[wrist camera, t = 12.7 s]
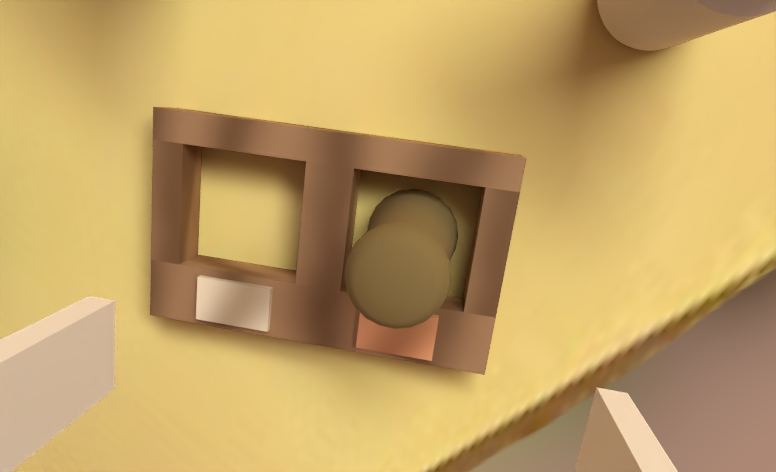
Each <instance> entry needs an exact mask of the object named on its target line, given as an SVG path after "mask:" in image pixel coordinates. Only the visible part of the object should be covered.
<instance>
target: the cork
mask: <svg viewBox="0 0 776 472" xmlns="http://www.w3.org/2000/svg"><path fill="white" fill-rule="evenodd" d="M457 239H458V230H457V222H456V220H455V218H454V215H453V213H452V211H451V209H450V208H449V207H448V206H447V205H446V204H445V203H444V202H443V201H442V200H441V199H440V198H439V197H437V196H435V195H433V194H431V193H429V192H427V191H422V190H416V189H410V190H402V191H398V192H396V193H394V194H392V195H390V196H388V197H386V198H385V199H384V200H383V201H382V202H381V203H380V204H379V205H378V206H377V207H376V209H375V210H374V212H373V214H372V216H371V218H370V222H369V228H368V232H367V233H366V234H365V235H364V236H362V237H361V238H360V239H359V240H358V241H357V242H356V243H355V244H354V246H353V248H352V250H351V252H350V254H349V256H348V258H347V261H346V268H345V274H344V275H345V282H346V288H347V293H348V295H349V297H350V299H351V301H352V303H353V305H354V307H355V308H356V309H357V310H358V311H359V312H360V313H361V314H362V315H363V316H364V317H365V318H366V319H368V320H370V321H372V322H374V323H376V324H378V325H379V326H384V327H389V328H393V329H399V328H411V327H413V326H416V325H418V324H420V323H423V322H425V321H426V320H428V319H429V318H430V317H431V316H432V315H433V314H435V313H436V312H437V311H438V310H439V309H440V307H441V306H442V304H443V302H444V301H445V299H446V297H447V296H448V291H449V286H450V282H451V274H450V266H449V259H450V258H451V256H452V254H453V252H454V251H455V249H456V244H457Z"/></svg>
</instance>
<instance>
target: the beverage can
mask: <svg viewBox="0 0 776 472" xmlns="http://www.w3.org/2000/svg"><path fill="white" fill-rule="evenodd" d="M597 4H598V10H599V14H600V17H601V20H602V22H603V24H604V26H605V27H606V29H607V30H608V31H609V33H610V34H611V35H612V36H613V37H614V38H615V39H616V40H618V41H619V42H621V43H622V44H624V45H626V46H628V47H631V48H634V49H638V50H646V51H650V50H661V49H664V48H668V47H671V46H674V45H677V44H680V43H683V42H686V41H689V40H692V39H695V38H698V37H701V36H704V35H707V34H710V33H713V32H716V31H718V30H721V29H724V28H727V27H730V26H733V25H736V24H739V23H742V22H745V21H748V20H751V19H754V18H757V17H760V16H763V15H766V14H768V13H771V12H774V11H776V0H597Z"/></svg>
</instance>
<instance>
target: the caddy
mask: <svg viewBox="0 0 776 472" xmlns="http://www.w3.org/2000/svg"><path fill="white" fill-rule="evenodd" d="M202 147H209V148H216V149H223V150H230V151H237V152H244V153H251V154H258V155H264V156H271V157H278V158H285V159H292V160H299V161H306V169H305V181H304V192H303V203H302V214H301V226H300V237H299V248H298V260H297V271H293V270H287V269H281V268H275V267H269V266H263V265H257V264H251V263H244V262H238V261H232V260H226V259H220V258H214V257H208V256H202V255H198V235H199V209H200V183H201V157H202ZM525 163H526V158H525V157H523V156H521V155H514V154H507V153H500V152H493V151H485V150H478V149H471V148H463V147H456V146H449V145H442V144H434V143H427V142H420V141H412V140H405V139H398V138H391V137H383V136H376V135H369V134H361V133H354V132H347V131H340V130H332V129H325V128H318V127H310V126H303V125H296V124H289V123H281V122H274V121H267V120H259V119H252V118H245V117H238V116H230V115H223V114H216V113H208V112H201V111H194V110H187V109H179V108H165V107H153V169H152V235H151V300H150V315H153V316H159V317H164V318H170V319H175V320H181V321H187V322H192V323H198V324H203V325H209V326H215V327H220V328H226V329H231V330H237V331H243V332H248V333H254V334H259V335H265V336H271V337H276V338H282V339H287V340H293V341H299V342H304V343H310V344H315V345H321V346H327V347H332V348H338V349H343V350H349V351H355V352H360V353H366V354H371V355H377V356H383V357H388V358H394V359H399V360H405V361H410V362H416V363H422V364H427V365H433V366H438V367H444V368H450V369H455V370H461V371H466V372H472V373H478V374H483V375H485V370H486V364H487V359H488V354H489V349H490V344H491V339H492V333H493V328H494V323H495V318H496V313H497V308H498V302H499V297H500V292H501V287H502V282H503V276H504V271H505V266H506V261H507V256H508V251H509V245H510V240H511V235H512V230H513V225H514V220H515V214H516V209H517V204H518V199H519V194H520V188H521V183H522V178H523V173H524V168H525ZM361 169H362V170H369V171H376V172H382V173H389V174H396V175H403V176H410V177H417V178H424V179H431V180H438V181H445V182H452V183H459V184H466V185H473V186H480V187H482V193H481V199H480V205H479V210H478V216H477V222H476V228H475V233H474V239H473V245H472V250H471V256H470V262H469V268H468V273H467V279H466V285H465V290H464V296H463V299H462V298H456V297H450V296H447V297H446V299H445V301H444V302H443V304H442V306H441V307H440V309H439V310H438V311H437V312H436V313H435V314H433V315H432V316H431V317H430V318H429V319H428V320H426V321H425V322H423V323H420V324H418V325H416V326H413V327H411V328H399V329H393V328H389V327H384V326H379V325H378V324H376V323H374V322H372V321H370V320H368V319H366V318H365V317H364V316H363V315H362V314H361V313H360V312H359V311H358V310H357V309H356V308H355V307H354V305H353V303H352V301H351V299H350V297H349V295H348V293H347V288H346V282H345V275H344V274H345V268H346V261H347V258H348V256H349V254H350V252H351V250H352V241H353V232H354V224H355V215H356V206H357V198H358V189H359V180H360V172H361Z"/></svg>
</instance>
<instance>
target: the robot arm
mask: <svg viewBox="0 0 776 472" xmlns="http://www.w3.org/2000/svg"><path fill="white" fill-rule="evenodd" d="M114 389H115V300H110V299H104V298H99V297H93V296H88V297H86V298H84V299H82V300H80V301H78V302H76V303H74V304H72V305H70V306H68V307H66V308H64V309H62V310H60V311H58V312H55V313H53V314H51V315H49V316H47V317H45V318H43V319H41V320H39V321H37V322H35V323H33V324H31V325H29V326H27V327H25V328H23V329H21V330H19V331H17V332H15V333H13V334H11V335H9V336H7V337H5V338H3V339H0V472H12V471H13V470H14V469H15V468H17V467H18V466H19V465H20V464H22V463H23V462H24V461H25V460H27V459H28V458H29V457H30V456H32V455H33V454H34V453H35V452H37V451H38V450H39V449H40V448H42V447H43V446H44V445H45V444H47V443H48V442H49V441H50V440H52V439H53V438H54V437H55V436H57V435H58V434H59V433H60V432H61V431H63V430H64V429H65V428H66V427H68V426H69V425H70V424H71V423H73V422H74V421H75V420H76V419H78V418H79V417H80V416H81V415H83V414H84V413H85V412H86V411H88V410H89V409H90V408H91V407H93V406H94V405H95V404H96V403H98V402H99V401H100V400H101V399H103V398H104V397H105V396H106V395H108V394H109V393H110V392H111V391H113V390H114ZM575 472H678V471H677V470H676V468H675V467H674V465H673V464H672V462H671V461H670V459H669V457H668V456H667V454H666V453H665V451H664V450H663V448H662V446H661V445H660V443H659V442H658V440H657V439H656V437H655V435H654V434H653V432H652V431H651V429H650V428H649V426H648V424H647V423H646V422H645V420H644V418H643V417H642V415H641V414H640V412H639V411H638V409H637V407H636V406H635V404H634V403H633V401H632V399H631V398H630V396H629V395H628V393H624V392H618V391H613V390H607V389H602V388H596V392H595V396H594V400H593V404H592V408H591V411H590V415H589V419H588V423H587V427H586V430H585V435H584V438H583V442H582V446H581V450H580V453H579V457H578V461H577V465H576V469H575Z"/></svg>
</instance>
